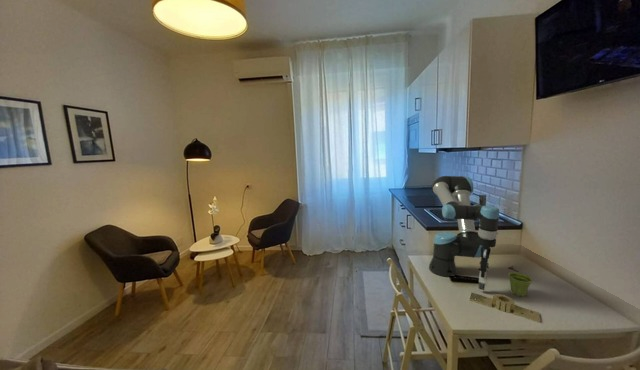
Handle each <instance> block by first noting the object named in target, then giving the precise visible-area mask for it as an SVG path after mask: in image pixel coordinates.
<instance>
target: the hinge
mask: <svg viewBox="0 0 640 370" xmlns="http://www.w3.org/2000/svg"><path fill="white" fill-rule="evenodd" d="M469 296H470V297H469V301H471V302H473V303H476V304H480V305H484V306H487V307H490V308H495V309H496V310H498V311H501V312H504V313H512V314H513V315H514V316H518V317H521V316H522V317H521V318H524V317H525V318H524V319H527V318H528V320H530V319H531V321H534V322H537V323H541V318H540V317H541V316H540V312H539V311H535V310H532V309H528V308H525V307H521V306H518V305H515V300H514V299H513V298H511V297H510V296H507V295H505V294H500V293H494V294H492V297H488V296H485V295H482V294H478V293H475V292H471V293H470V295H469ZM492 306H493V307H492Z"/></svg>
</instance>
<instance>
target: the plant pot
mask: <svg viewBox="0 0 640 370" xmlns="http://www.w3.org/2000/svg"><path fill="white" fill-rule="evenodd" d="M508 277H509V284H510V292H511V293H512V294H514V295H515V296H518V297H519V296H521V297H525V296H526V295H527V294H528V290H529V286H530V285H531V284H532V282H533V279H532V278H531V277H530V276H527V275H525V274H522V273H518V272H510V273H508Z"/></svg>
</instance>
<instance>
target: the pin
mask: <svg viewBox="0 0 640 370" xmlns="http://www.w3.org/2000/svg"><path fill="white" fill-rule="evenodd" d="M479 265H480V266H481V260H480V261H479ZM487 266H488V267H490V266H489V262H488V263H487ZM486 270H487V271H488V268H486ZM485 286H486V283H485V284H484V283H481V282H479V281H478V286H477V287H478V289H479V290H483V291H484V290H485V288H486V287H485Z"/></svg>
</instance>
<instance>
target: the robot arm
mask: <svg viewBox="0 0 640 370" xmlns="http://www.w3.org/2000/svg"><path fill="white" fill-rule="evenodd" d="M431 188H432V191H433V193H434V194H435V195H436V196H437V198H438V199H439V202H440V203H441V205H442V207H441V214H442V217H443V218H444V219H450V220H457V226H458V232H457V234H456V233H455V232H449V231H440V232H438V233H436V234H435V235H434V237H433V238H434V239H433V252H432V258H431V260H430V261H429V262H430V263H429V264H428V265H429V266H428V269H429V271H430V272H431V273H432V274H434V275H436V276H440V277H445V278H450V277H449V276H450V275H456V276H457V274H458V269H457V266H456V265H457V264H456V261H455V258H456V257H463V258H473V259H474V258H479V259H480V258H481V259H480V261H481V265H480V266H479V267H480V268H478V271H479V276H478V277H479V278H478V283H479V282H481V283H484V284H485V285H486V282H487V281H486V280H487V279H486V278H487V272H488V269H489V268H490V266H487V263H489V261H488V260H489V258H490V255H491V248H495V247H496V246H497V236H498V235H499V232H498V227H499V220H500V209H499V207H498V206H497V207H496V206H491V205H482V204H473V205H471V201H470V196H471V195H472V193H473V192H474V183H473V180H472V178H471V177H469V176H464V175H460V176H459V175H444V176H443V175H442V176H439V177H437V178H436V179H435V180H434V181H433V183H432V185H431ZM475 221H479V226H478V231H476V228H475V227H476V226H475ZM486 268H487V270H486Z"/></svg>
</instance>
